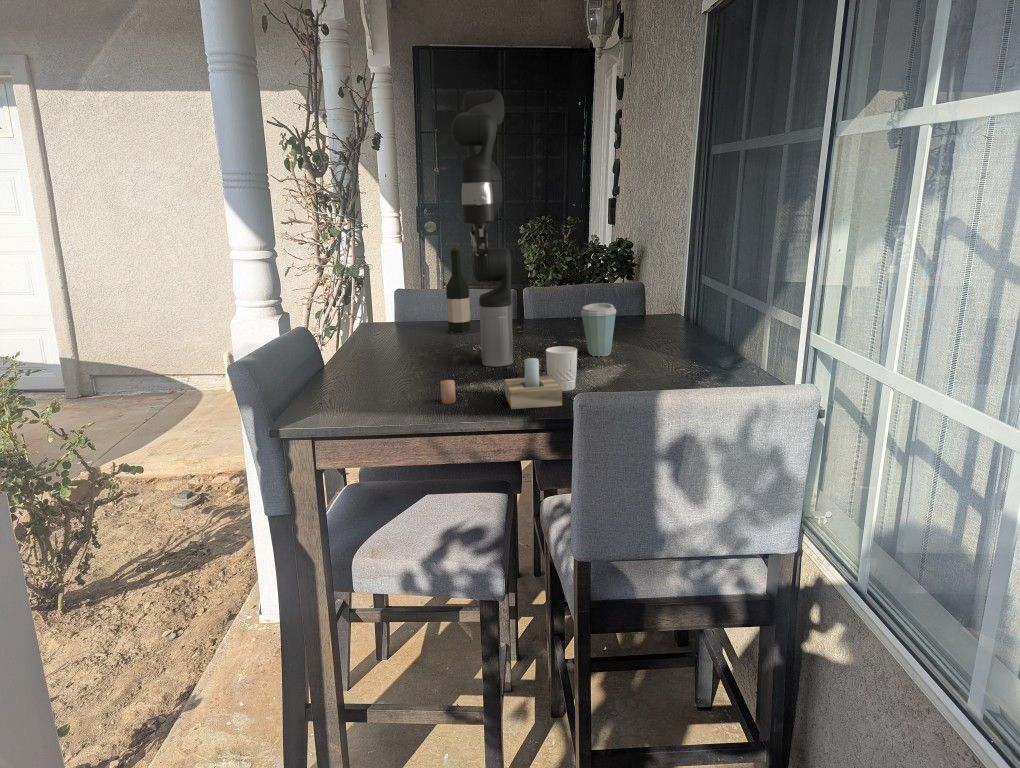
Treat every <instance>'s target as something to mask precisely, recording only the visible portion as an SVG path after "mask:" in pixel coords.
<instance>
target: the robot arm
mask: <svg viewBox="0 0 1020 768" xmlns="http://www.w3.org/2000/svg"><path fill="white" fill-rule="evenodd" d="M504 102H505V101H504V97H503V94H502V93H501V92H500V91H499V90H496V89H488V90H487V89H486V90H485V89H484V90H483V89H482V90H472V91H467V92H465V93H464V95H463V101H462V105H463V106H462V108H463V109H462V110H463V112H460V113H458V114H457V115H456V116H455V117H454V118H453V120H452V123H451V127H450V132H451V133H450V134H451V137H452V139H453V141H454V142H455V143H456V144H457V145H458V146H460V147H467V148H466V149H467V157H464V158H463V159H462V160H461V162H460V170H461V209H462V222H463V223H464V224H471V227H470V232H469V233H470V234H469V235H470V239H471V240H470V244H471V248H472V249H471V256H472V257H471V263H472V265H471V266H472V275H473V278H474V281H476V282H479V283H481V282H483V283H484V282H485V283H486V282H488V283H490V282H498V284H497V286H496V287H494V288H492V290H490V291H486V292H485V293H483V294H481V295H480V296H479V298H478V299H479V300H478V303H479V304H478V305H479V322H480V323H479V325H480V344H481V346H480V347H481V364H482V365H483V366H486V367H503V366H506V367H507V366H509V365H512V364H514V341H513V340H514V338H513V337H514V336H513V311H512V310H513V309H512V257H511V253H510V250H509V248H506V247H495V248H493V247H492V248H491V247H490V248H489V243H488V237H489V234H488V230H489V227H490V225H491V223H493V222H494V219H495V216H496V215H497V213H498V211H499V210H500V208H501V205H502V203H503V199H504V198H503V197H504V196H503V182H502V180H503V179H502V177H503V176H502V174H501V172H500V169H499V167H498V166H497V165H496V163H495V162H494V161H493V158H492V155H493V149H494V145H495V140H496V137H497V131H498V125H501V124H502V123H503V122H504V119H505V103H504Z"/></svg>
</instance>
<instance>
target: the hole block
mask: <svg viewBox="0 0 1020 768" xmlns="http://www.w3.org/2000/svg"><path fill="white" fill-rule="evenodd" d="M504 396H505V398H506V400H507V403H508V405H509V409H510V410H519V409H531V408H533V409H534V408H535V409H537V408H548V407H550V408H551V407H561V406H563V391H562V388H561V387H560V386H559V384H558V383H557V382H556V380H555V379H554V378H553V376H551V377H548V376H539V387H526V388H525V377H523V378H510V379H509V378H507V379H504Z"/></svg>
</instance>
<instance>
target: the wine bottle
mask: <svg viewBox="0 0 1020 768" xmlns="http://www.w3.org/2000/svg"><path fill="white" fill-rule="evenodd" d="M451 249H452V250H450V256H451V257H450V258H451V276H450V278H449V280H448V282H447V284H446V286H445V291H446V293H445V294H446V307H447V308H446V310H447V311H446V312H447V326H448V327H447V328H448V333H449V332H453V333H463V332H468V331H470V330H471V331H472V323H471V322H472V321H471V303H470V301H471V300H470V285H469V282H468V281H467V280H466V278H465V276H463V273H462V261H461V260H462V259H461V258H462V257H461V255H462V254H461V249H460V247H451Z"/></svg>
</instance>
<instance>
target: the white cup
mask: <svg viewBox="0 0 1020 768" xmlns="http://www.w3.org/2000/svg"><path fill="white" fill-rule="evenodd" d="M545 358H546V359H545V360H546V372H547V373H546V375H547V377H551V376H553V378H554V379H555V380H556V382H557V383H558V384H559V386H560V387H561V388H562V392H568V391H569V392H570V391H573V390H574V389H576V386H577V384H576V383H577V382H576V380H577V379H576V378H577V370H578V369H577V367H578V348H576V347H574V346H561V345H559V346H552V347H547V348H546V349H545Z"/></svg>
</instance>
